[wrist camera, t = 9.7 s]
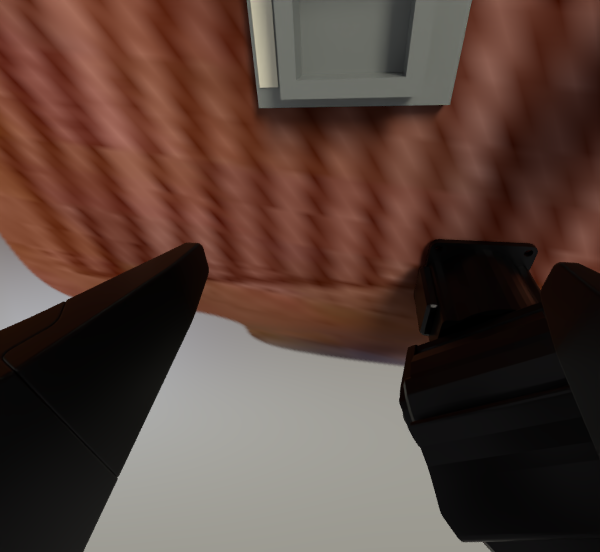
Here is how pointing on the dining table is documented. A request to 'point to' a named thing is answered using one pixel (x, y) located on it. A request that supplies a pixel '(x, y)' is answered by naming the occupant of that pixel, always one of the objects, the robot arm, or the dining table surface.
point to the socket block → (356, 51)
